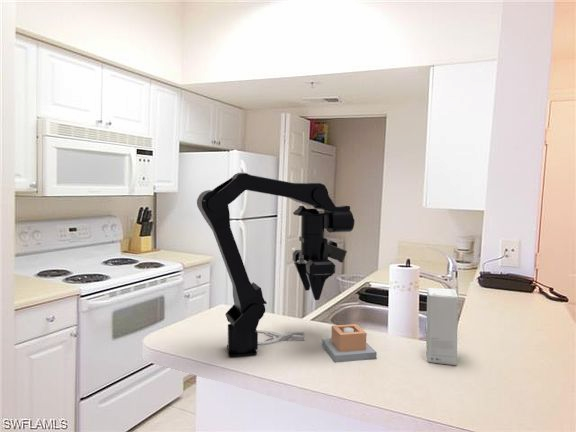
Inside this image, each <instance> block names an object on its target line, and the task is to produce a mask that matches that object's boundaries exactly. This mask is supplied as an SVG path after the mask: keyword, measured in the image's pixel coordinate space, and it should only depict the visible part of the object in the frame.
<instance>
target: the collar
mask: <svg viewBox="0 0 576 432" xmlns="http://www.w3.org/2000/svg"><path fill="white" fill-rule="evenodd" d="M347 327H349V328H353V329H354V332H347V333H344V328H347ZM330 337H331V338H330V339H331V342H332V343H333V344H334V345H335V347H336V348H337V349H338V350H339V351H340V352H344V351H357V350H366V343H367V332H366V331H365V330H364V329H363V328H361V327H360V326H359V325H358V324H357V323H352V324H337V325H331V336H330Z"/></svg>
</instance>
